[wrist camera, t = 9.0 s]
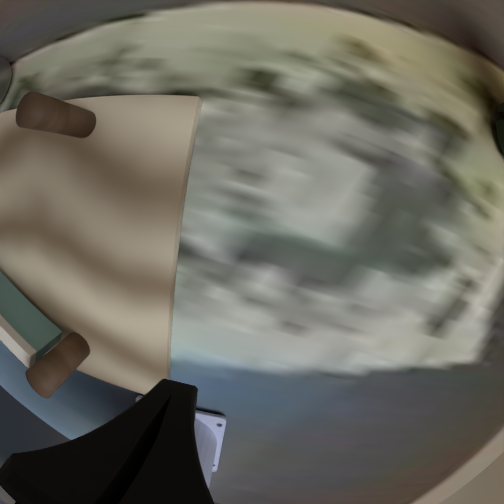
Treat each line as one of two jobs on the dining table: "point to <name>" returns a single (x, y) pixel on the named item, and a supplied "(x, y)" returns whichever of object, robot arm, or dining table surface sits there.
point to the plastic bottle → (4, 77)
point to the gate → (24, 325)
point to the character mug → (500, 128)
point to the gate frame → (97, 228)
